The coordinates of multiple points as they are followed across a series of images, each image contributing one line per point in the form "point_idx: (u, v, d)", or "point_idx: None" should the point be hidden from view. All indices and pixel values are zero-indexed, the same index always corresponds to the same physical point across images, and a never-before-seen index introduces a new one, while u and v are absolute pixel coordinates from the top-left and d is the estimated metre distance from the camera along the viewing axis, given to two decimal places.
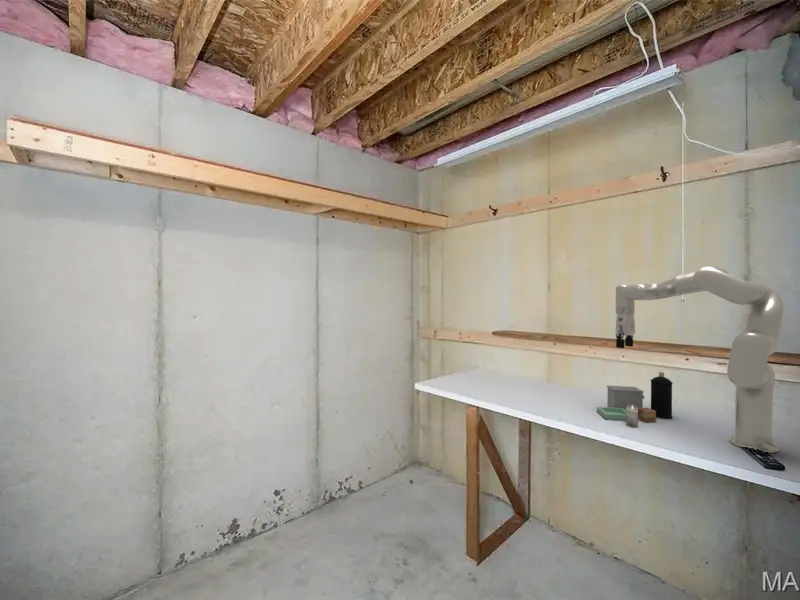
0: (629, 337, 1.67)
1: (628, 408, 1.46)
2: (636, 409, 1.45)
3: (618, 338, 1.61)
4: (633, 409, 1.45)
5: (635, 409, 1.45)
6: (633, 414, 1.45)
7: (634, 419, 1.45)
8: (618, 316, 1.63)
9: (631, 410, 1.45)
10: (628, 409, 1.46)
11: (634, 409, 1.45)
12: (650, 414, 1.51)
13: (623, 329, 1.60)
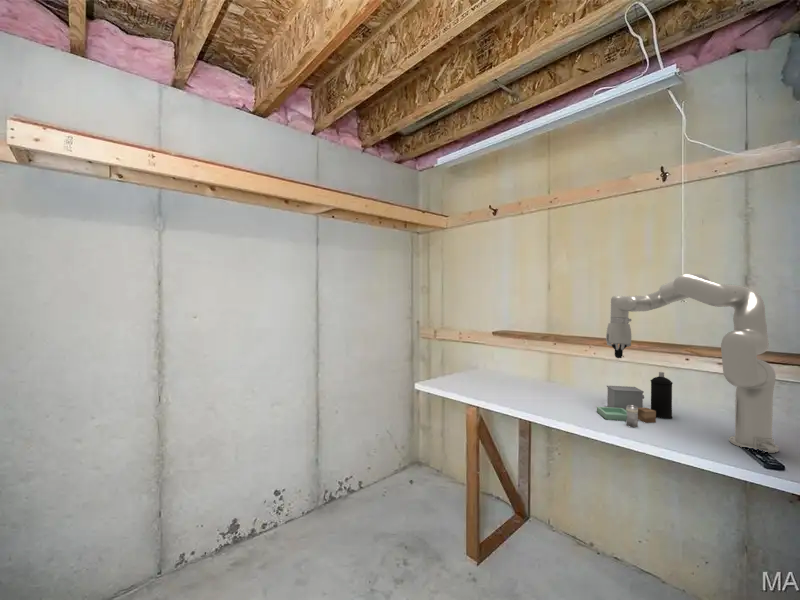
0: (617, 347, 1.73)
1: (628, 408, 1.46)
2: (636, 409, 1.45)
3: None
4: (633, 409, 1.45)
5: (635, 409, 1.45)
6: (633, 414, 1.45)
7: (634, 419, 1.45)
8: None
9: (631, 410, 1.45)
10: (628, 409, 1.46)
11: (634, 409, 1.45)
12: (650, 414, 1.51)
13: None
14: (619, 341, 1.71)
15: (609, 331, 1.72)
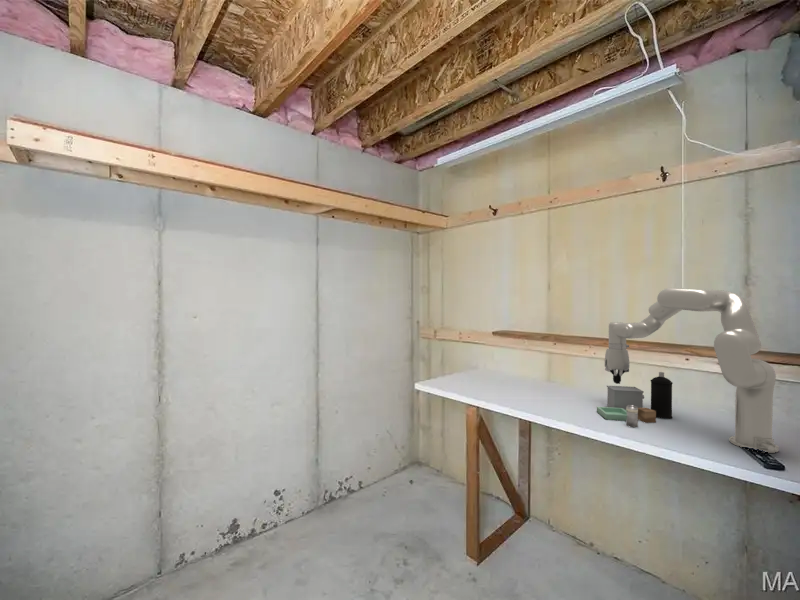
0: None
1: (628, 408, 1.46)
2: (636, 409, 1.45)
3: None
4: (633, 409, 1.45)
5: (635, 409, 1.45)
6: (633, 414, 1.45)
7: (634, 419, 1.45)
8: (627, 352, 1.73)
9: (631, 410, 1.45)
10: (628, 409, 1.46)
11: (634, 409, 1.45)
12: (650, 414, 1.51)
13: None
14: (617, 367, 1.73)
15: (607, 357, 1.75)
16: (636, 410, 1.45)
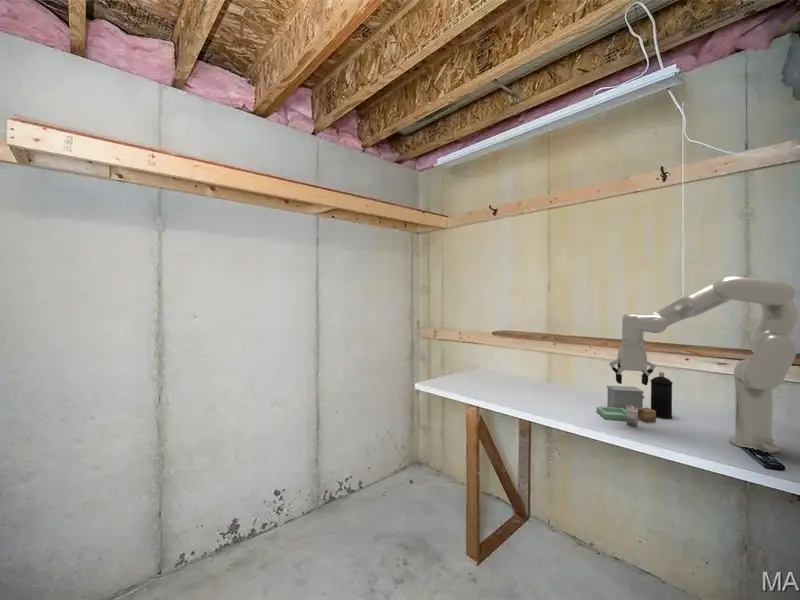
0: None
1: (628, 408, 1.46)
2: (636, 409, 1.45)
3: None
4: (633, 409, 1.45)
5: (635, 409, 1.45)
6: (633, 414, 1.45)
7: (634, 419, 1.45)
8: None
9: (631, 410, 1.45)
10: (628, 409, 1.46)
11: (634, 409, 1.45)
12: (650, 414, 1.51)
13: None
14: (633, 367, 1.45)
15: (620, 355, 1.47)
16: (636, 410, 1.45)
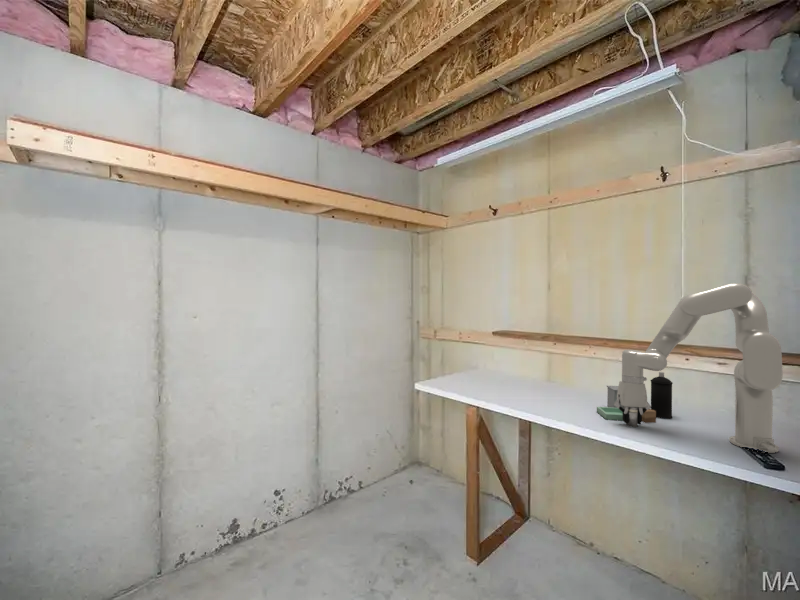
0: None
1: (628, 408, 1.46)
2: (636, 409, 1.45)
3: None
4: (633, 409, 1.45)
5: (635, 409, 1.45)
6: (633, 414, 1.45)
7: (634, 419, 1.45)
8: None
9: (631, 410, 1.45)
10: (628, 409, 1.46)
11: (634, 409, 1.45)
12: (650, 414, 1.51)
13: None
14: (633, 404, 1.45)
15: (620, 392, 1.47)
16: (636, 410, 1.45)
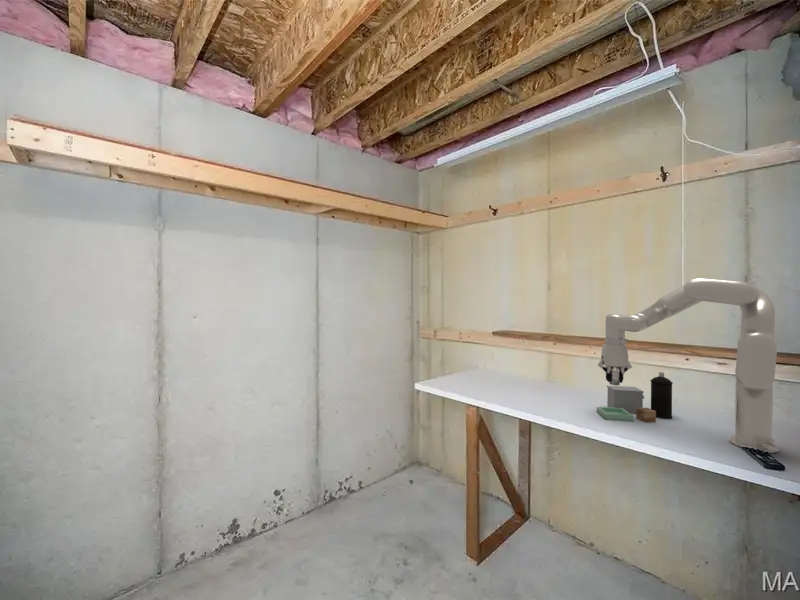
0: None
1: (611, 368, 1.57)
2: (618, 368, 1.56)
3: None
4: (615, 368, 1.56)
5: (617, 369, 1.56)
6: (615, 373, 1.56)
7: (616, 378, 1.56)
8: (626, 347, 1.56)
9: (613, 369, 1.57)
10: (611, 369, 1.57)
11: (616, 369, 1.56)
12: (650, 414, 1.51)
13: None
14: (615, 364, 1.56)
15: (604, 353, 1.58)
16: (618, 369, 1.56)
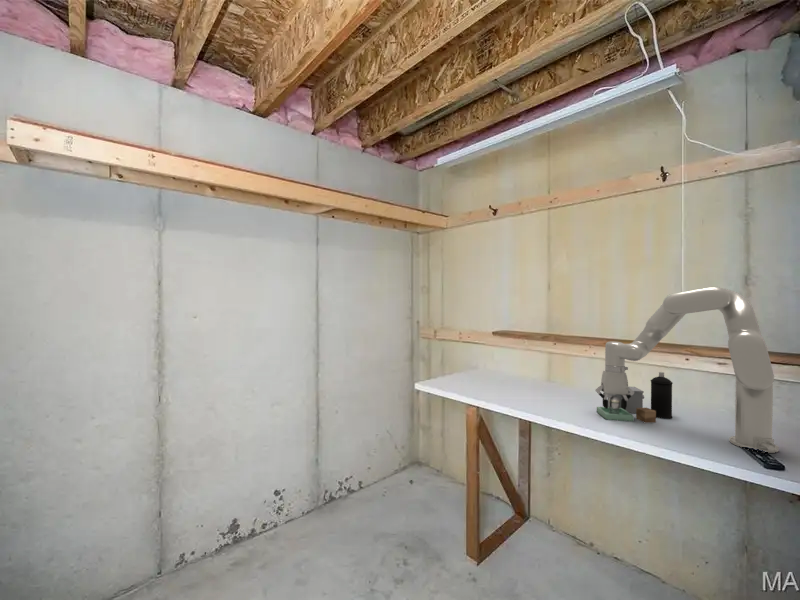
0: None
1: (610, 399, 1.58)
2: (618, 400, 1.56)
3: None
4: (615, 400, 1.56)
5: (617, 400, 1.56)
6: (615, 404, 1.56)
7: (616, 409, 1.56)
8: (626, 375, 1.56)
9: (613, 400, 1.57)
10: (610, 400, 1.57)
11: (616, 400, 1.56)
12: (650, 414, 1.51)
13: None
14: (615, 392, 1.56)
15: (604, 380, 1.58)
16: (618, 401, 1.56)
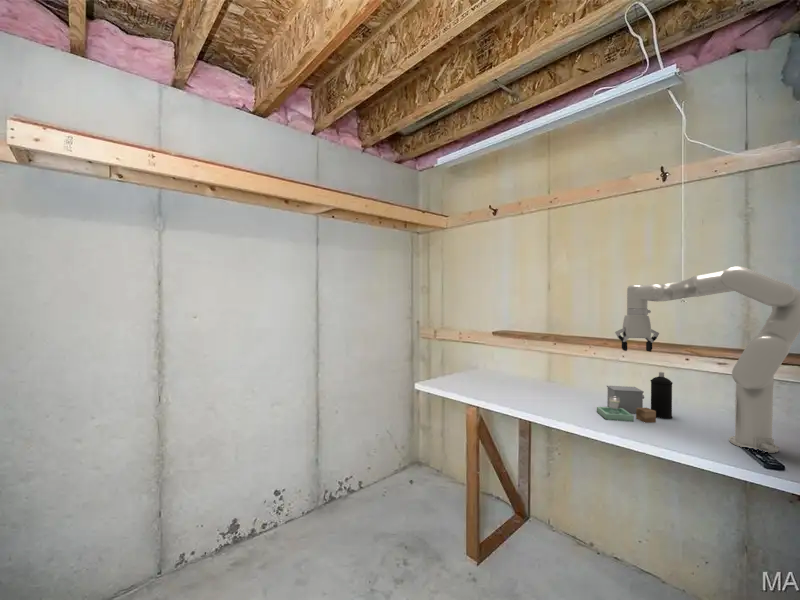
0: None
1: (611, 399, 1.57)
2: (618, 400, 1.56)
3: None
4: (615, 400, 1.56)
5: (617, 400, 1.56)
6: (615, 404, 1.56)
7: (616, 409, 1.56)
8: None
9: (613, 400, 1.57)
10: (611, 399, 1.57)
11: (616, 400, 1.56)
12: (650, 414, 1.51)
13: None
14: (638, 335, 1.54)
15: (626, 324, 1.55)
16: (618, 401, 1.56)
